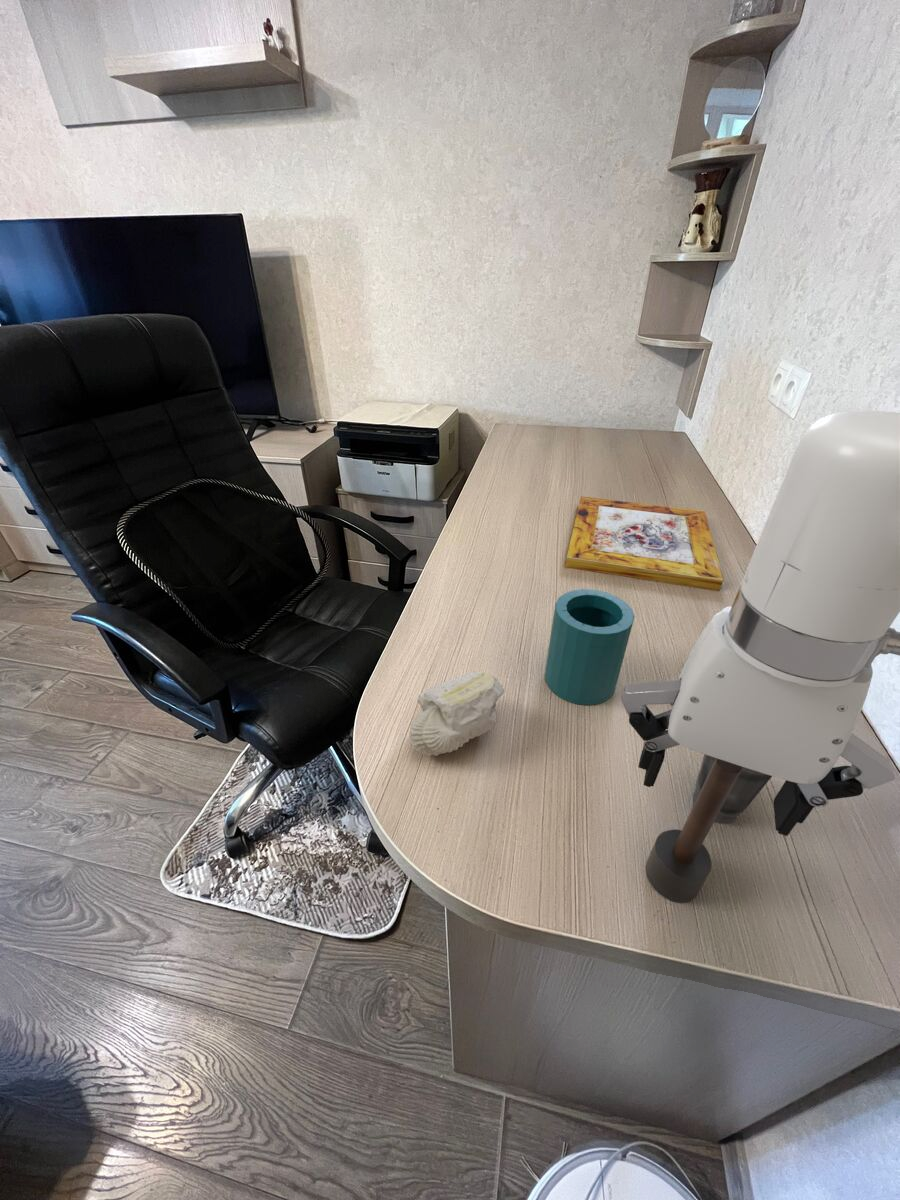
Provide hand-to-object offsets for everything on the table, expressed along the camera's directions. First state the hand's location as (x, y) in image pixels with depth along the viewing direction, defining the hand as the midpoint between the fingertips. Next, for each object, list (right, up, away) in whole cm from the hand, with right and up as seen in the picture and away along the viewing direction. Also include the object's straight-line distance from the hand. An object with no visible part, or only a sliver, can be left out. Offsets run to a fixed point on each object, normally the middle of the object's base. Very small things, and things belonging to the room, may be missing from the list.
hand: (711, 795), depth 40 cm
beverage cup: (+8, -7, +14) cm, 17 cm away
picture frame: (+18, +28, +63) cm, 71 cm away
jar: (-3, +5, +29) cm, 30 cm away
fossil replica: (-21, -1, +22) cm, 30 cm away
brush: (0, -11, +7) cm, 13 cm away
